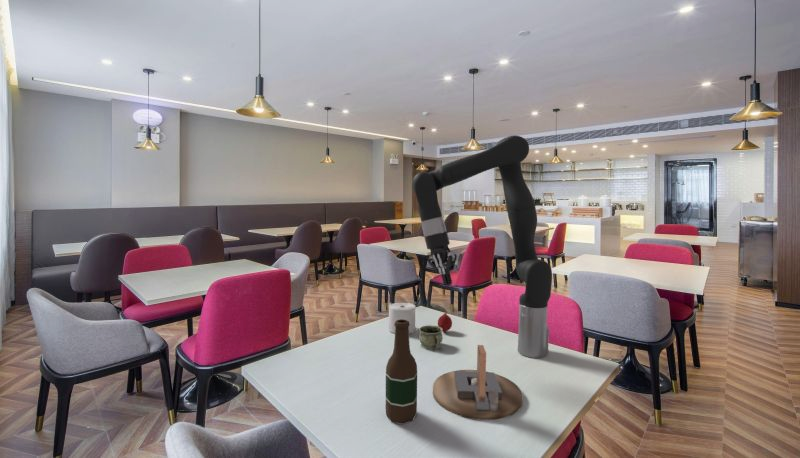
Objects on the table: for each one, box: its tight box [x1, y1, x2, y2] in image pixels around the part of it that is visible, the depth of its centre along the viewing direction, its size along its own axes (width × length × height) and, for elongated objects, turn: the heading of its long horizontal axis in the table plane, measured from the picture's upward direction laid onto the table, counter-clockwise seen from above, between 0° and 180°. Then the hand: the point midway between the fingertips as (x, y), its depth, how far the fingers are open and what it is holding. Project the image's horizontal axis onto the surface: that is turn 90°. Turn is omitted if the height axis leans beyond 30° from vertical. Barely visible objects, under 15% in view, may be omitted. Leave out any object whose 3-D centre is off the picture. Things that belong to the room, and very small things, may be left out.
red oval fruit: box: [437, 312, 453, 333], centre depth 153 cm, size 6×6×8 cm
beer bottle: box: [385, 319, 418, 425], centre depth 94 cm, size 8×8×24 cm
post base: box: [432, 369, 523, 421], centre depth 105 cm, size 24×24×6 cm
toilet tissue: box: [388, 301, 416, 335], centre depth 156 cm, size 11×12×10 cm
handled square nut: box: [453, 344, 502, 411], centre depth 102 cm, size 17×11×14 cm
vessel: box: [418, 324, 444, 351], centre depth 140 cm, size 12×9×6 cm
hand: (448, 284), depth 124 cm, fingers closed
